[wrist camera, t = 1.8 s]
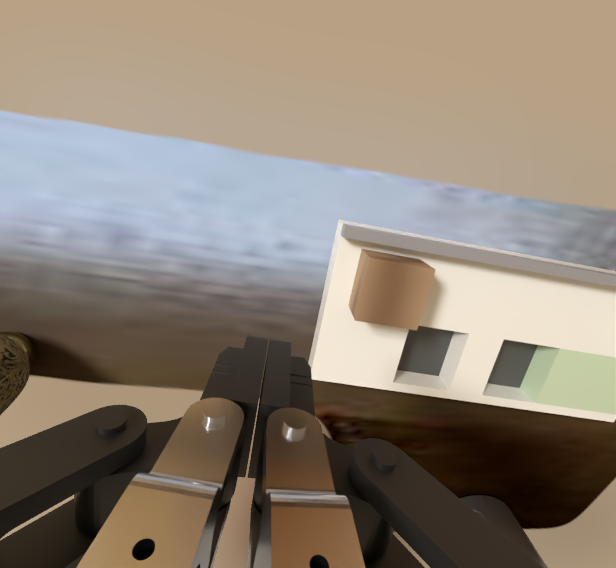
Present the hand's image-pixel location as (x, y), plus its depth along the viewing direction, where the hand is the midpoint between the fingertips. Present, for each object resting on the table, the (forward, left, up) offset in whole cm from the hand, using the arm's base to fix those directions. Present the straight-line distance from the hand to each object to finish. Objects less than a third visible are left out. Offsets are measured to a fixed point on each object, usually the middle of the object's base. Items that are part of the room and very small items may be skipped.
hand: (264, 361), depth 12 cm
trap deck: (-14, -11, -17) cm, 25 cm away
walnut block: (-6, -6, -14) cm, 16 cm away
